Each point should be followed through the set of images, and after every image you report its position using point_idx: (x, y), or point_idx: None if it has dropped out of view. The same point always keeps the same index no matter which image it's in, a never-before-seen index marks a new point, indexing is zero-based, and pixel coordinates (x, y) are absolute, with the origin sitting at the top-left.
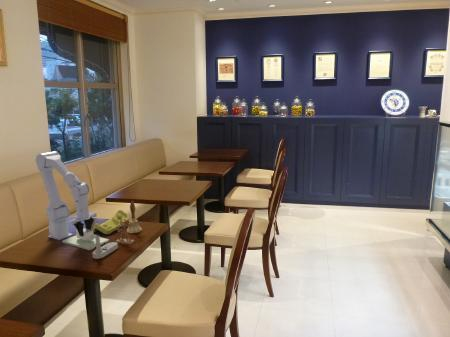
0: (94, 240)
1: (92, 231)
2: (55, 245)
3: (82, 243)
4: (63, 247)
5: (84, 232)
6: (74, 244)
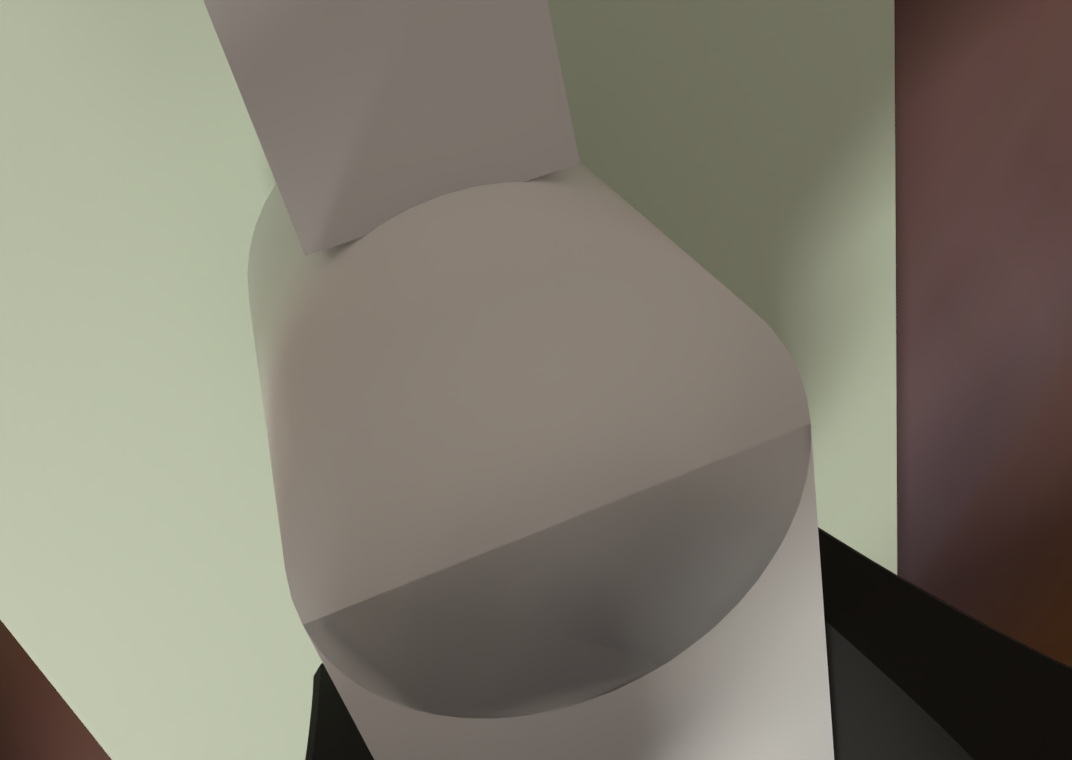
0: (229, 213)
1: (396, 397)
2: (1029, 631)
3: (725, 233)
4: (1038, 424)
5: (813, 553)
6: (886, 355)
